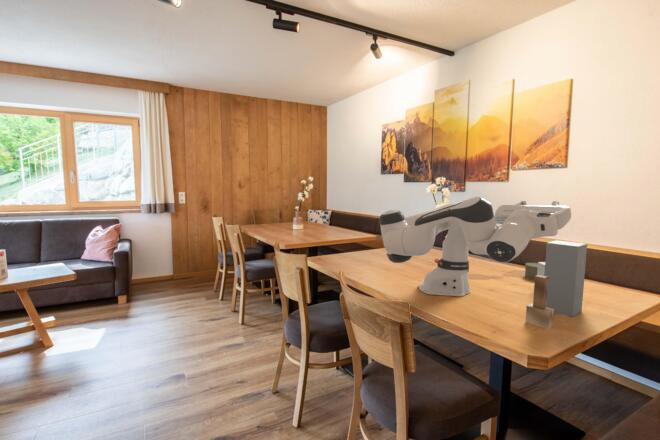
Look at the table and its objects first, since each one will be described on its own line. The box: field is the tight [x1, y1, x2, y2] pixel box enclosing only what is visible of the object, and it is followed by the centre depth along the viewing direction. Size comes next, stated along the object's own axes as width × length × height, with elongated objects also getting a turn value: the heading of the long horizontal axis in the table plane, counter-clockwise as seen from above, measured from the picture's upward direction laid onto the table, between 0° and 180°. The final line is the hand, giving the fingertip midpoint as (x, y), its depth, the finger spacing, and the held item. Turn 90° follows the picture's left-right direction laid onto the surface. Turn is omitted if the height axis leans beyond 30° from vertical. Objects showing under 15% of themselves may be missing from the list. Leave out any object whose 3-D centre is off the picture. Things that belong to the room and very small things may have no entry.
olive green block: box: [524, 262, 538, 281], centre depth 174 cm, size 12×12×7 cm
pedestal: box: [544, 239, 588, 318], centre depth 127 cm, size 10×10×26 cm
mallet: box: [525, 275, 555, 330], centre depth 114 cm, size 17×7×4 cm
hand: (539, 203), depth 108 cm, fingers open, 8 cm apart
